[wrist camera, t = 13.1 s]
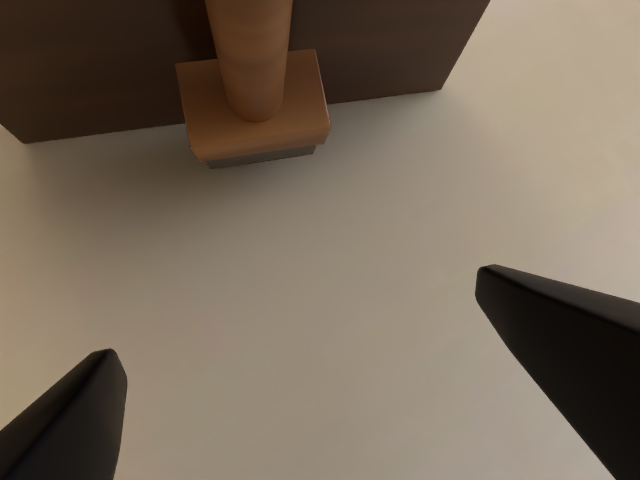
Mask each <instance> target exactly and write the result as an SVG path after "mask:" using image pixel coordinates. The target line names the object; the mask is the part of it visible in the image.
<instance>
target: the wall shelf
mask: <svg viewBox="0 0 640 480" xmlns="http://www.w3.org/2000/svg"><path fill="white" fill-rule="evenodd" d="M489 2H490V0H293V5H292V14H291V24H290V34H289V44H288V51H296V50H305V49H315V51H316V56H317V60H318V65H319V70H320V75H321V80H322V85H323V90H324V95H325V100H326V104H332V103H340V102H348V101H356V100H363V99H371V98H379V97H386V96H394V95H402V94H409V93H417V92H425V91H433V90H440V89H442V87H443V85H444V83H445V81H446V80H447V78H448V76H449V74H450V72H451V71H452V69H453V67H454V65H455V63H456V62H457V60H458V58H459V56H460V54H461V53H462V51H463V49H464V47H465V45H466V44H467V42H468V40H469V38H470V36H471V35H472V33H473V31H474V29H475V27H476V26H477V24H478V22H479V20H480V18H481V17H482V15H483V13H484V11H485V9H486V8H487V6H488V4H489ZM210 59H218V58H217V53H216V49H215V45H214V40H213V36H212V31H211V27H210V22H209V18H208V13H207V9H206V5H205V0H0V124H1V125H2V126H3V127H5V128H6V129H7V130H8V131H9V132H10V133H11V134H13V135H14V136H15V137H16V138H17V139H18V140H19V141H21V142H22V143H32V142H39V141H47V140H55V139H63V138H70V137H78V136H86V135H93V134H101V133H109V132H117V131H124V130H132V129H140V128H147V127H155V126H163V125H171V124H178V123H186V122H185V117H184V112H183V106H182V101H181V95H180V90H179V84H178V79H177V73H176V68H175V64H176V63H182V62H191V61H201V60H210Z"/></svg>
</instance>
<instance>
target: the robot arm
mask: <svg viewBox="0 0 640 480" xmlns="http://www.w3.org/2000/svg"><path fill="white" fill-rule="evenodd" d="M475 297H476V300H477V302H478V304H479V306H480V307H481V309H482V310H483V312H484V313H485V315H486V316H487V318H488V319H489V321H490V322H491V324H492V325H493V327H494V328H495V330H496V331H497V333H498V334H499V336H500V337H501V339H502V340H503V342H504V343H505V344H506V346H507V347H508V349H509V350H510V351H511V353H512V354H513V355H514V356H515V358H516V359H517V360H518V361H519V363H520V364H521V365H522V366H523V367H524V369H525V370H526V371H527V372H528V373H529V375H530V376H531V377H532V378H533V380H534V381H535V382H536V383H537V384H538V386H539V387H540V388H541V389H542V391H543V392H544V393H545V394H546V395H547V397H548V398H549V399H550V400H551V401H552V403H553V404H554V405H555V406H556V408H557V409H558V410H559V411H560V412H561V414H562V415H563V416H564V417H565V419H566V420H567V421H568V422H569V423H570V425H571V426H572V427H573V428H574V429H575V431H576V432H577V433H578V434H579V436H580V437H581V438H582V439H583V440H584V442H585V443H586V444H587V445H588V446H589V448H590V449H591V450H592V451H593V453H594V454H595V455H596V456H597V457H598V459H599V460H600V461H601V462H602V464H603V465H604V466H605V467H606V468H607V470H608V471H609V472H610V473H611V474H612V476H613V477H614V478H615V479H616V480H640V303H638V302H634V301H630V300H627V299H623V298H619V297H616V296H612V295H608V294H604V293H601V292H597V291H593V290H589V289H586V288H582V287H578V286H574V285H571V284H567V283H563V282H559V281H556V280H552V279H548V278H545V277H541V276H537V275H533V274H530V273H526V272H522V271H518V270H515V269H511V268H507V267H503V266H500V265H496V264H493V265H488V266H483V267H481V268H479V270H478V272H477V280H476V290H475ZM126 393H127V376H126V373H125V371H124V369H123V367H122V364H121V362H120V360H119V358H118V355H117V353H116V352H115V350H114V349H111V348H109V349H104V350H100V351H95V352H92V353H91V354H89V355H88V356H87V357H86V358H85V359H84V360H82V361H81V362H80V363H79V364H78V365H77V366H75V367H74V368H73V369H72V370H71V371H70V372H68V373H67V374H66V375H65V376H64V377H63V378H61V379H60V380H59V381H58V382H57V383H56V384H54V385H53V386H52V387H51V388H50V389H49V390H47V391H46V392H45V393H44V394H43V395H42V396H40V397H39V398H38V399H37V400H36V401H35V402H33V403H32V404H31V405H30V406H29V407H28V408H26V409H25V410H24V411H23V412H22V413H21V414H19V415H18V416H17V417H16V418H15V419H14V420H12V421H11V422H10V423H9V424H8V425H7V426H5V427H4V428H3V429H2V430H1V431H0V480H113V478H114V473H115V469H116V465H117V460H118V455H119V450H120V443H121V436H122V427H123V419H124V410H125V402H126Z"/></svg>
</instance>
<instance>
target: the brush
mask: <svg viewBox="0 0 640 480" xmlns="http://www.w3.org/2000/svg"><path fill="white" fill-rule="evenodd" d="M205 5H206V9H207V13H208V18H209V22H210V27H211V31H212V36H213V40H214V45H215V49H216V53H217V58H218V59H210V60H201V61H191V62H182V63H176V64H175V68H176V73H177V79H178V84H179V90H180V95H181V101H182V106H183V112H184V117H185V122H186V128H187V133H188V139H189V144H190V147H191V149H192V151H193V152H194V154H195V156H196V157H197V159H198V160H199V162H204V161H206V163H207V165H208V167H209V168H210V169H217V168H223V167H230V166H236V165H243V164H250V163H256V162H263V161H269V160H276V159H282V158H289V157H296V156H302V155H309V154H313V152H314V150H315V147H316V145H319V144H323V143H324V141H325V139H326V137H327V135H328V133H329V131H330V128H331V124H330V119H329V114H328V109H327V104H326V100H325V95H324V90H323V85H322V80H321V75H320V70H319V65H318V60H317V56H316V51H315V49H305V50H296V51H288V44H289V34H290V24H291V14H292V5H293V0H205Z"/></svg>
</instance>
